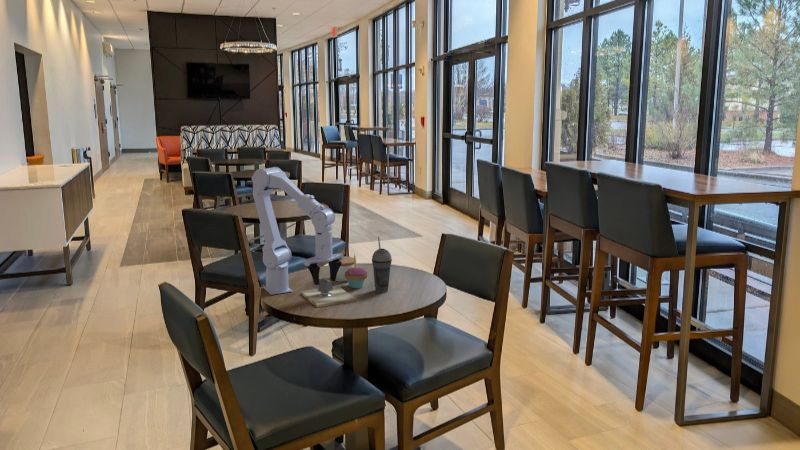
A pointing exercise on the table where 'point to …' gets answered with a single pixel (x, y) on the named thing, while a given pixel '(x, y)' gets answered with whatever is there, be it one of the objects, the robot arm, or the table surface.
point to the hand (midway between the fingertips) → (324, 282)
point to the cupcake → (355, 276)
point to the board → (336, 297)
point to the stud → (325, 294)
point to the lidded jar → (344, 268)
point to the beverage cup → (381, 269)
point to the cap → (324, 285)
